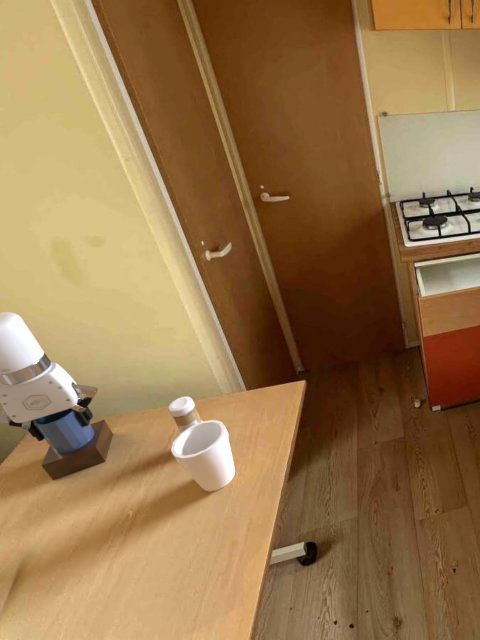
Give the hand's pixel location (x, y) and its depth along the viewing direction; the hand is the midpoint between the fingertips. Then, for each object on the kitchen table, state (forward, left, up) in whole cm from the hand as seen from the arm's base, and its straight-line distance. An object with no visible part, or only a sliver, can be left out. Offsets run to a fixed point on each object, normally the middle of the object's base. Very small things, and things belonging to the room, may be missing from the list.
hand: (66, 428), depth 94 cm
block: (0, 0, -9) cm, 9 cm away
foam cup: (+27, -23, -9) cm, 37 cm away
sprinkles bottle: (+23, -10, -9) cm, 27 cm away
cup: (0, 0, -4) cm, 4 cm away
